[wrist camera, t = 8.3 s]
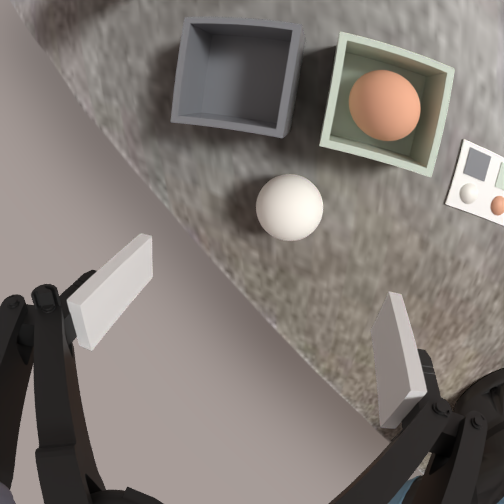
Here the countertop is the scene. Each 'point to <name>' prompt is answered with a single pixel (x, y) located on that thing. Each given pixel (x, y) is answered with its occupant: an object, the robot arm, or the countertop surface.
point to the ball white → (289, 207)
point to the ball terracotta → (384, 105)
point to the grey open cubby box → (238, 74)
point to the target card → (478, 183)
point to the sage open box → (420, 77)
